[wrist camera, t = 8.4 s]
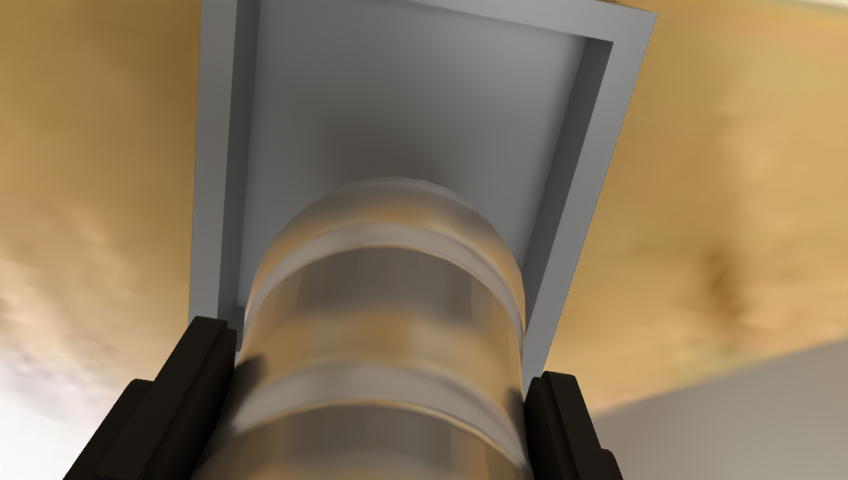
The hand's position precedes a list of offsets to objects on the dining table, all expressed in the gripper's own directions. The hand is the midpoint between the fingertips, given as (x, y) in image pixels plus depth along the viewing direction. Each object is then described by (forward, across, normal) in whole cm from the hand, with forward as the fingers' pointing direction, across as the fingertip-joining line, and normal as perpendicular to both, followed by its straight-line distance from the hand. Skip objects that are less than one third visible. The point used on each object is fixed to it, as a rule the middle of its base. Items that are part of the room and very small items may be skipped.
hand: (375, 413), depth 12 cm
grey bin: (+14, 0, 0) cm, 14 cm away
